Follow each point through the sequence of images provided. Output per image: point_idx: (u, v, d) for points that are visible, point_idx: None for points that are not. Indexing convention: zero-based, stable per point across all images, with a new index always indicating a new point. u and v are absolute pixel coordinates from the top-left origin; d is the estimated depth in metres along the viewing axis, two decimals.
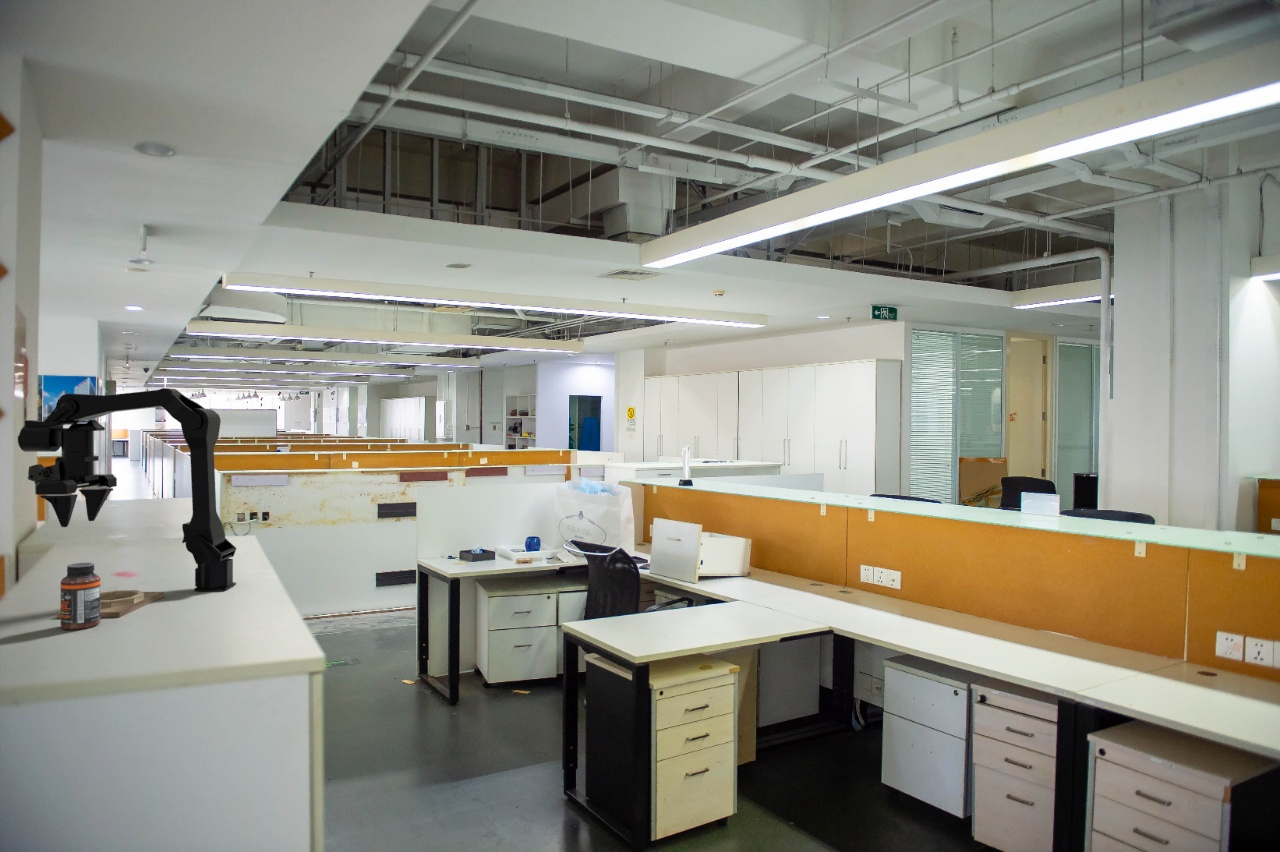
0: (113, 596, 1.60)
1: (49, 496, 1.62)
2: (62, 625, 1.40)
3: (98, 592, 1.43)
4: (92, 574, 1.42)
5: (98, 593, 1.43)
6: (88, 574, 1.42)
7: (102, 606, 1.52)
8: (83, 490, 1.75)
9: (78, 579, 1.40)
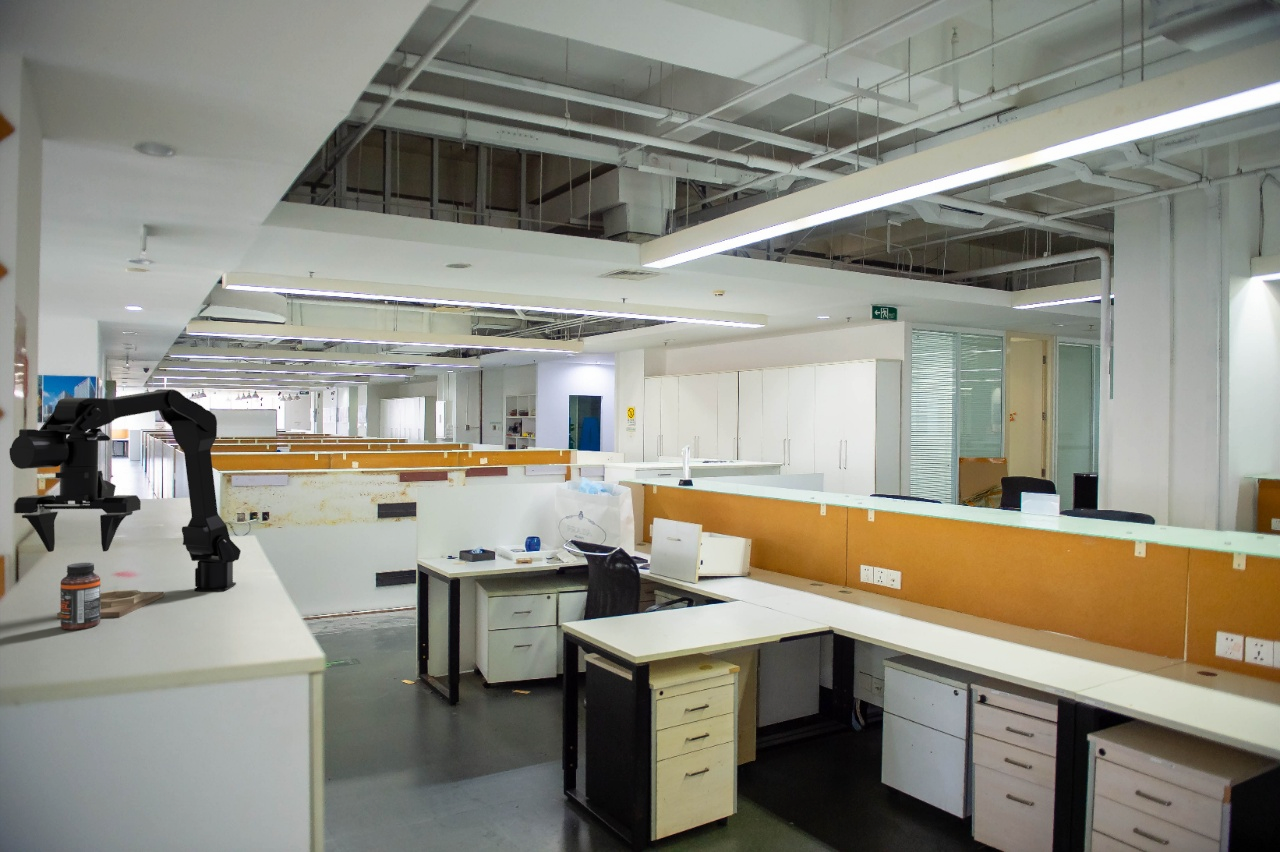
0: (113, 596, 1.60)
1: None
2: (62, 625, 1.40)
3: (98, 592, 1.43)
4: (91, 574, 1.42)
5: (98, 593, 1.43)
6: (88, 574, 1.42)
7: (102, 606, 1.52)
8: None
9: (77, 579, 1.40)
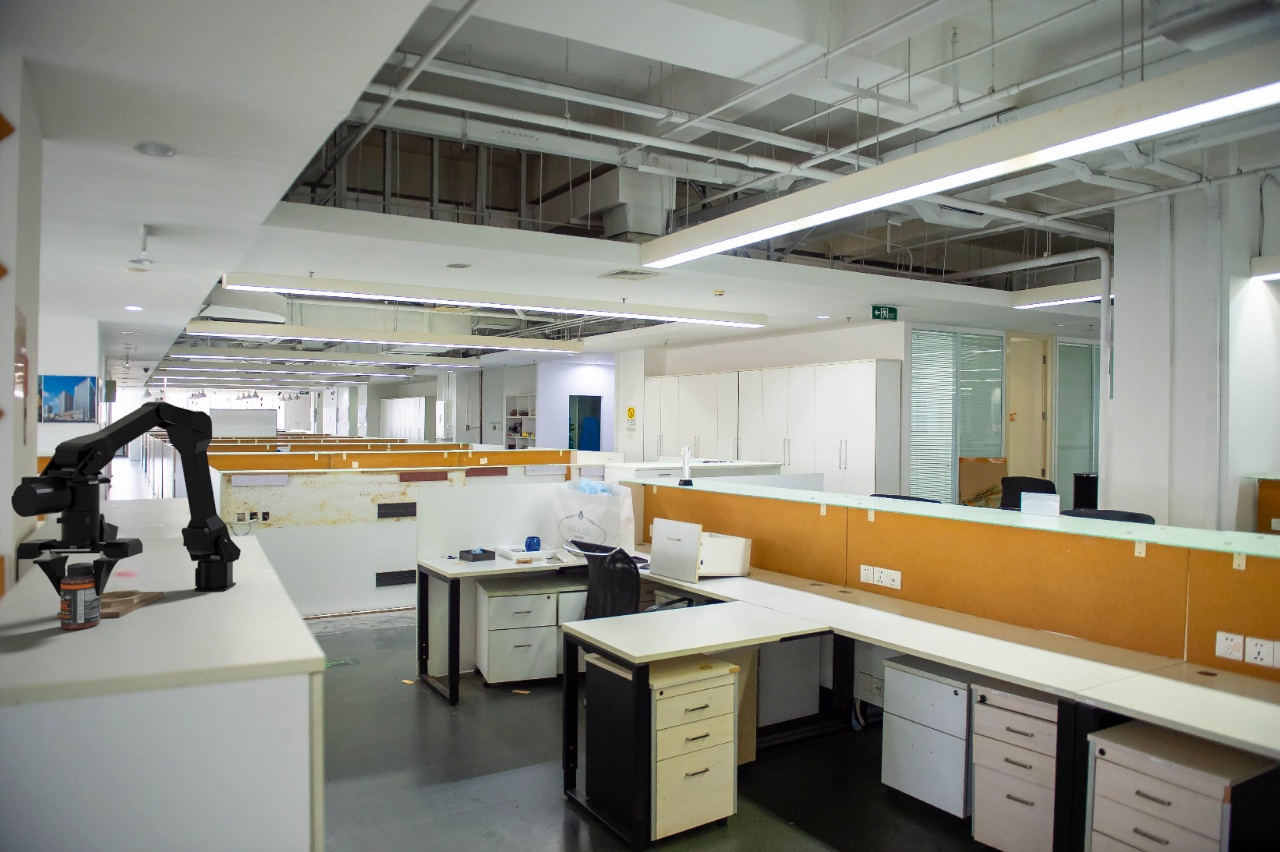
0: (113, 596, 1.60)
1: None
2: (62, 625, 1.40)
3: None
4: (92, 573, 1.42)
5: None
6: (88, 574, 1.42)
7: (102, 606, 1.52)
8: None
9: (77, 579, 1.40)
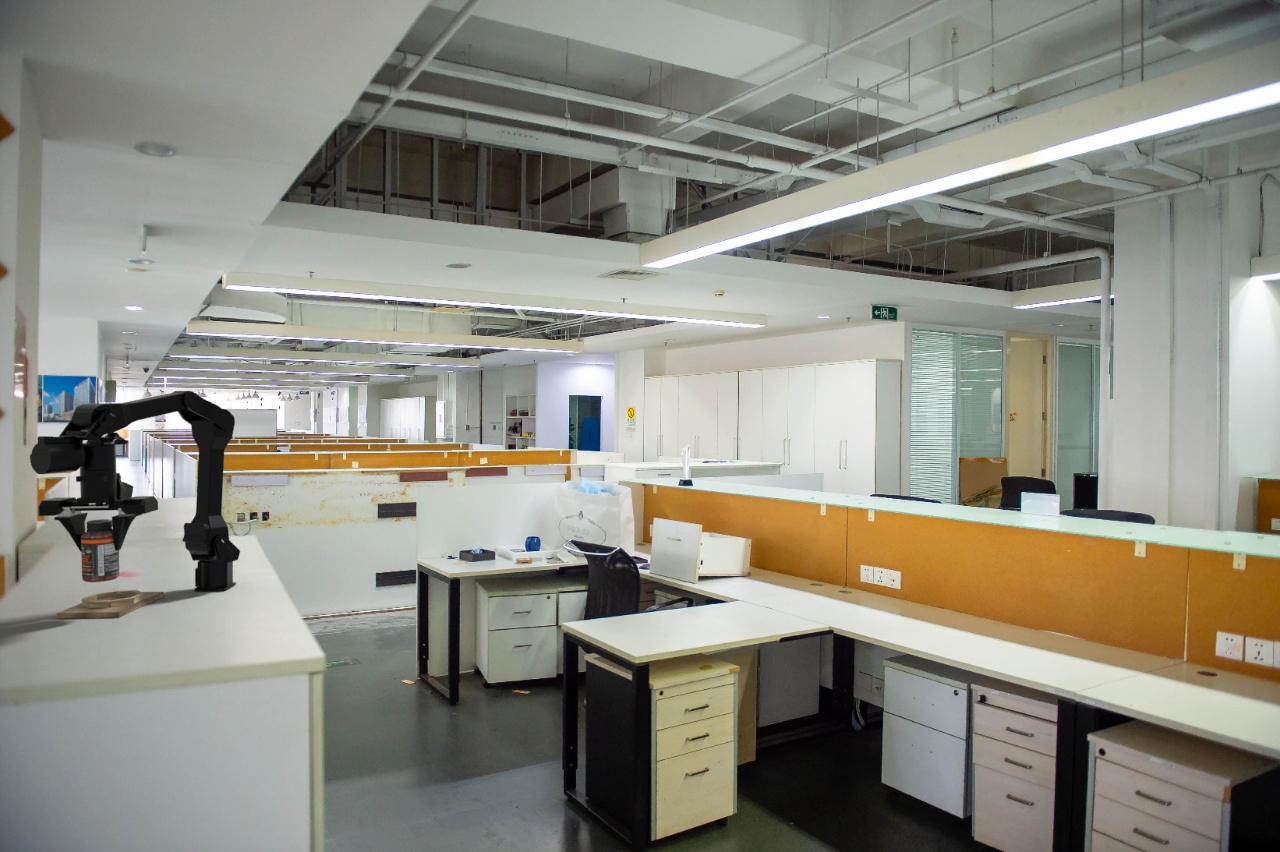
0: (113, 596, 1.60)
1: None
2: (83, 578, 1.48)
3: None
4: (110, 529, 1.50)
5: None
6: (107, 530, 1.49)
7: (102, 606, 1.52)
8: None
9: (97, 534, 1.48)
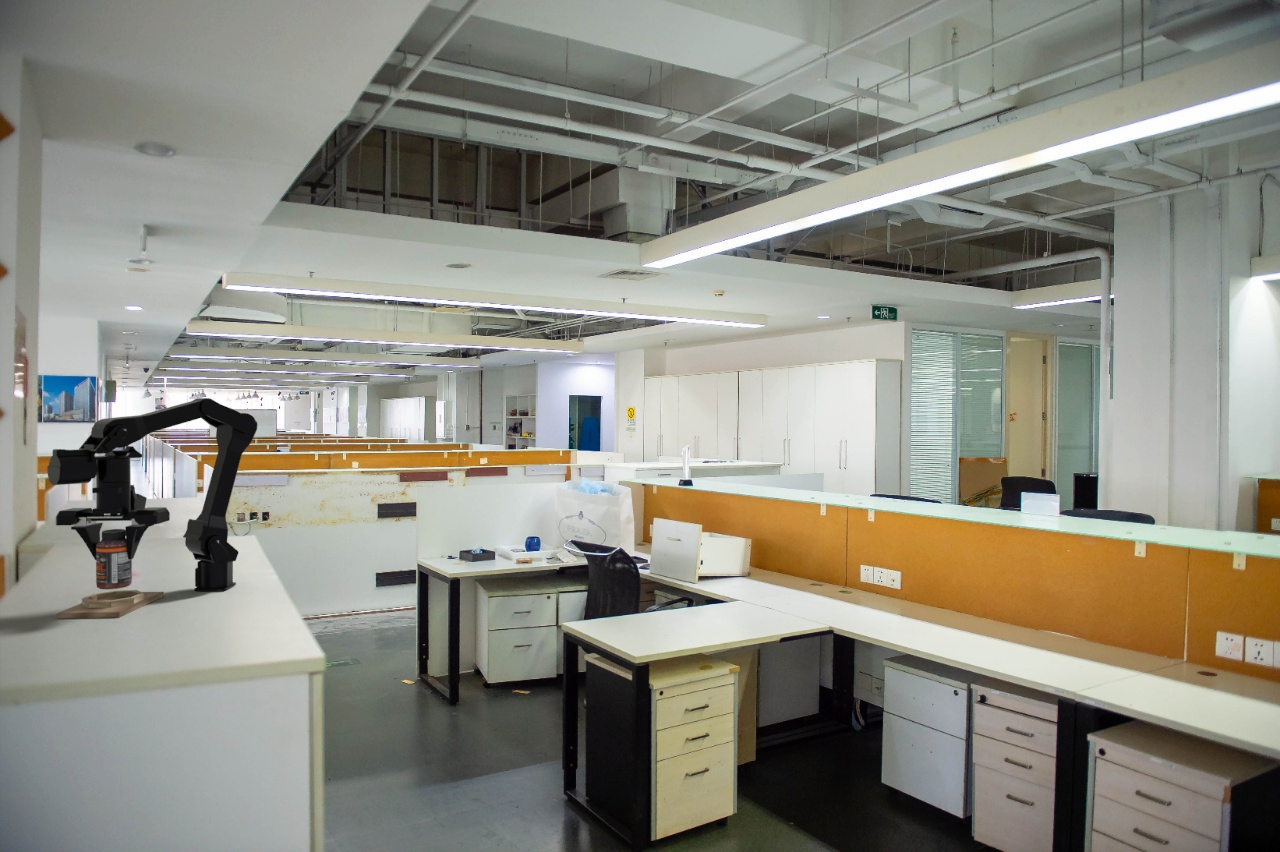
0: (113, 596, 1.60)
1: None
2: (98, 585, 1.54)
3: None
4: (124, 539, 1.57)
5: None
6: (121, 539, 1.56)
7: (102, 606, 1.52)
8: None
9: (111, 543, 1.54)
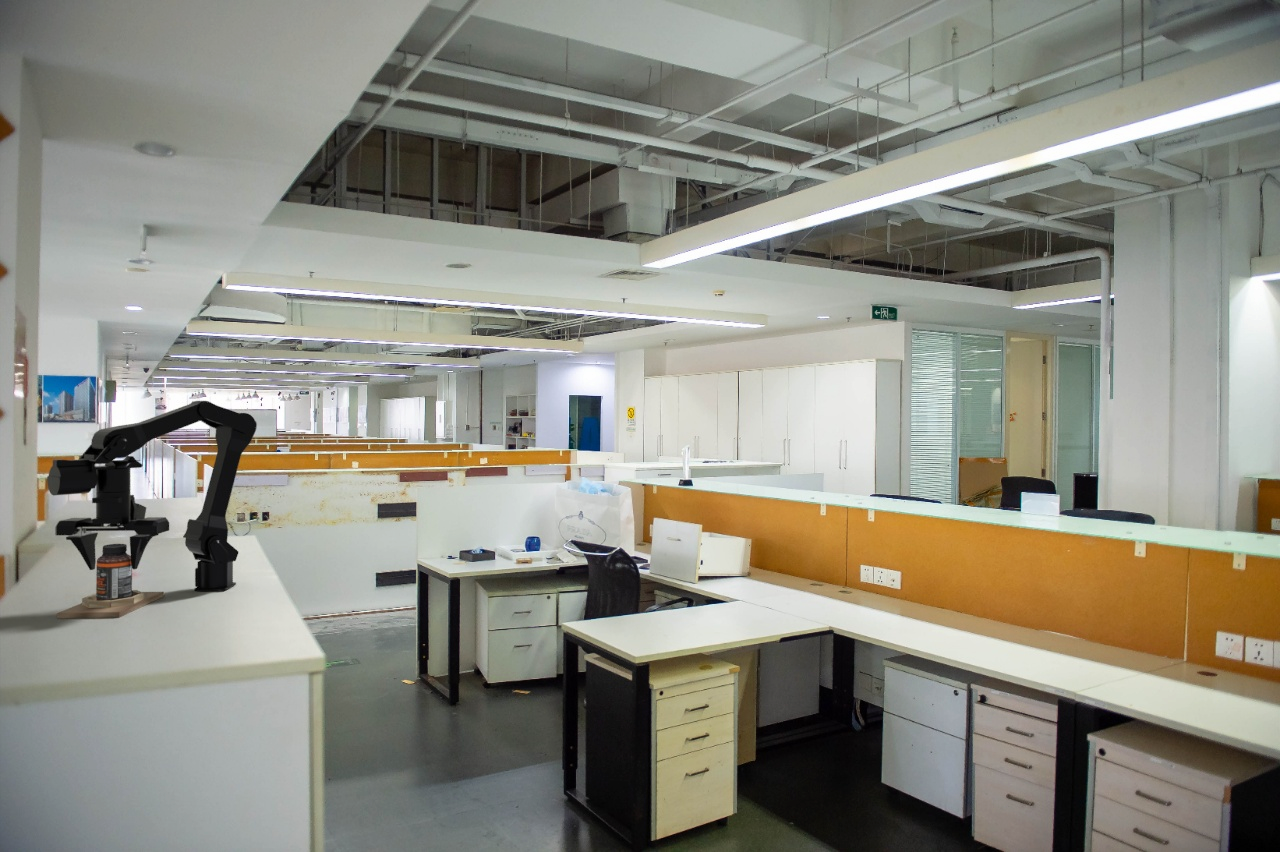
0: None
1: None
2: (98, 599, 1.54)
3: (130, 571, 1.57)
4: (124, 553, 1.57)
5: (130, 571, 1.57)
6: (122, 554, 1.56)
7: (102, 606, 1.52)
8: None
9: (112, 558, 1.54)
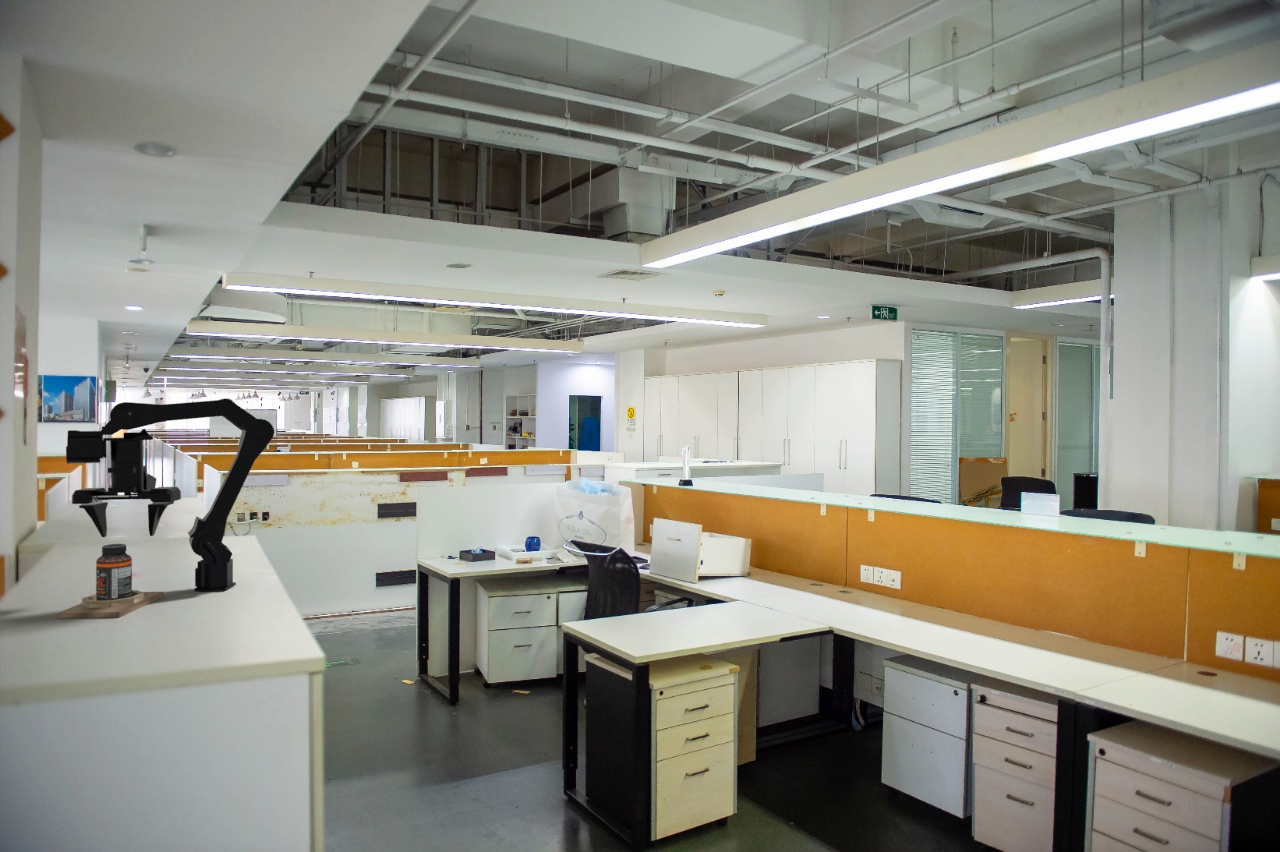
0: None
1: None
2: (98, 600, 1.54)
3: (130, 571, 1.57)
4: (124, 554, 1.57)
5: (130, 571, 1.57)
6: (121, 554, 1.56)
7: (102, 606, 1.52)
8: None
9: (112, 558, 1.54)
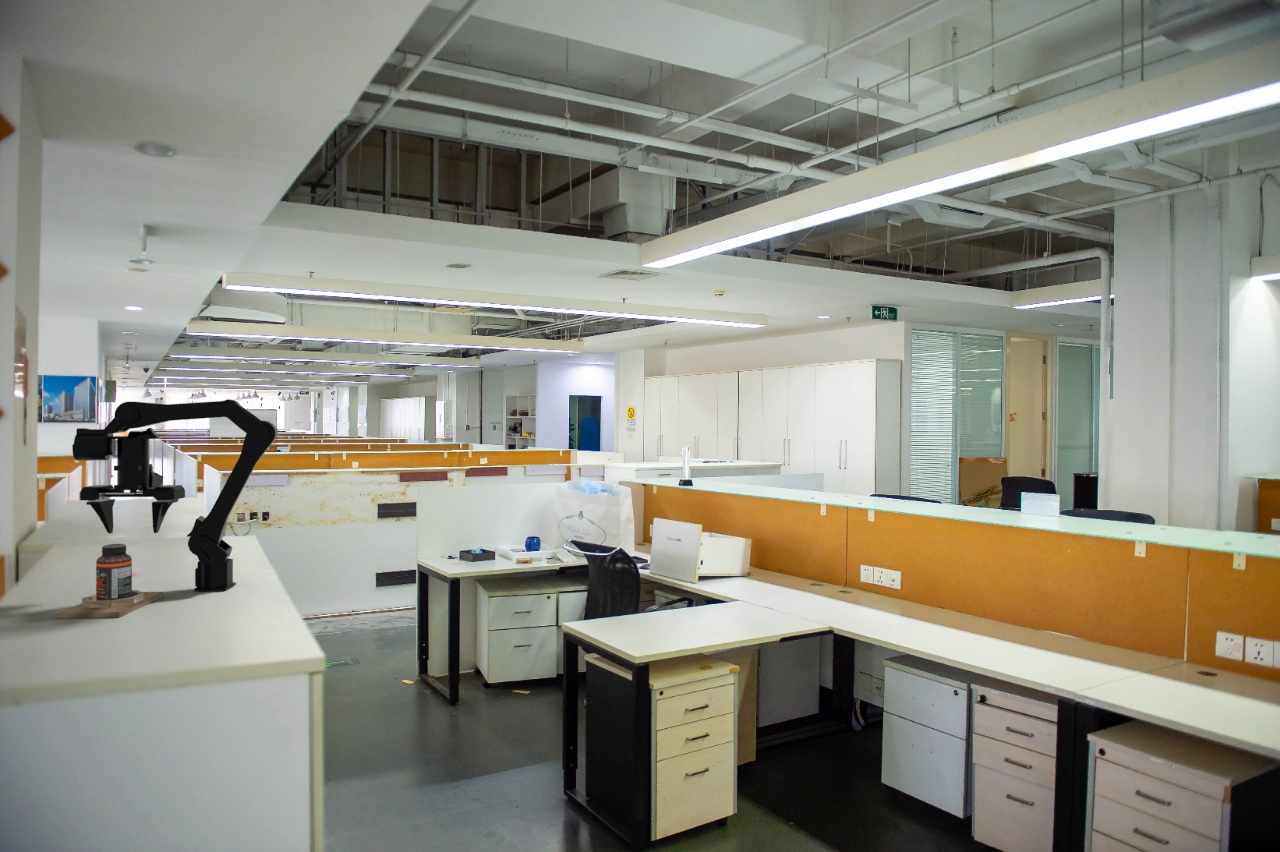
0: None
1: None
2: (98, 600, 1.54)
3: (130, 571, 1.57)
4: (124, 554, 1.57)
5: (130, 571, 1.57)
6: (121, 554, 1.56)
7: (102, 606, 1.52)
8: None
9: (112, 558, 1.54)
